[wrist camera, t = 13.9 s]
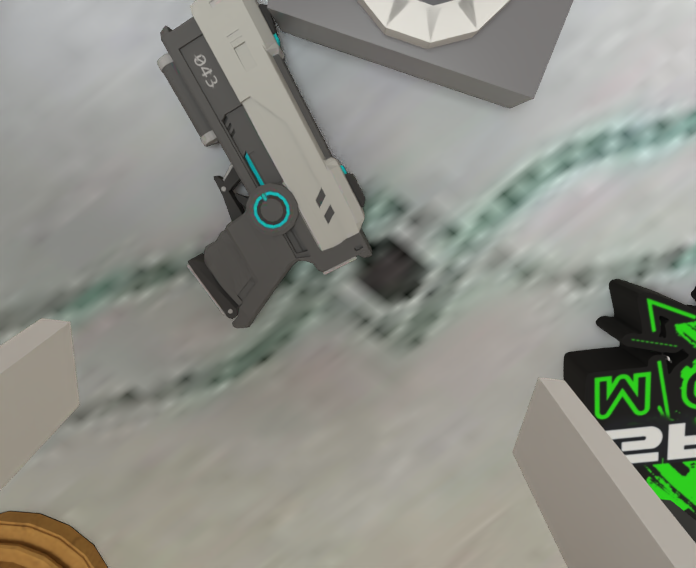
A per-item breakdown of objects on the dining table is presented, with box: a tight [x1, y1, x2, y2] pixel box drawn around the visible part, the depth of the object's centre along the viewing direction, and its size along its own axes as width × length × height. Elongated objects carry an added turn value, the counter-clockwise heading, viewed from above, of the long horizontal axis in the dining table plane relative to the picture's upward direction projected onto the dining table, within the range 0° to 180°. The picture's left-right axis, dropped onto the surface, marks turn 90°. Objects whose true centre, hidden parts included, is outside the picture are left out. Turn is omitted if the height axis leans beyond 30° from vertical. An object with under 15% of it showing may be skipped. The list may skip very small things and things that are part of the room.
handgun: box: [157, 0, 372, 328], centre depth 33 cm, size 4×22×15 cm
